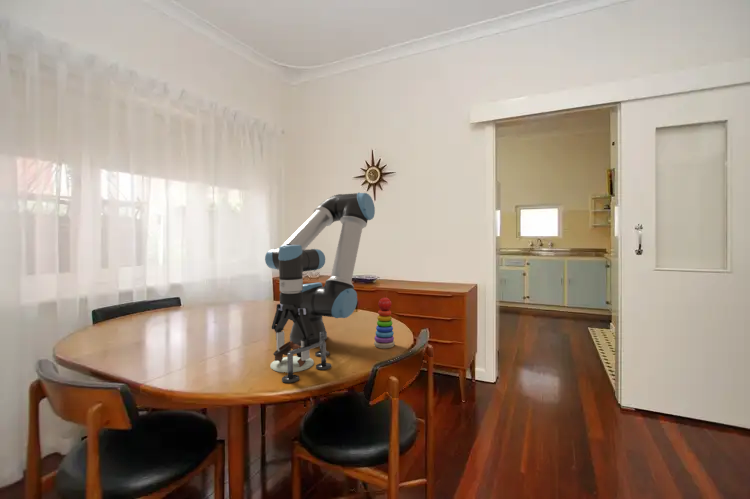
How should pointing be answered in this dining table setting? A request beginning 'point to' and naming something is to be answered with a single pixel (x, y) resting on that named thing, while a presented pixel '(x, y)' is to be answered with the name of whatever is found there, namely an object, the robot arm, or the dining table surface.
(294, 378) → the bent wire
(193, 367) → the dining table surface
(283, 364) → the sage pad
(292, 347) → the brown angular figure
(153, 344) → the dining table surface
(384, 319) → the stacking toy
